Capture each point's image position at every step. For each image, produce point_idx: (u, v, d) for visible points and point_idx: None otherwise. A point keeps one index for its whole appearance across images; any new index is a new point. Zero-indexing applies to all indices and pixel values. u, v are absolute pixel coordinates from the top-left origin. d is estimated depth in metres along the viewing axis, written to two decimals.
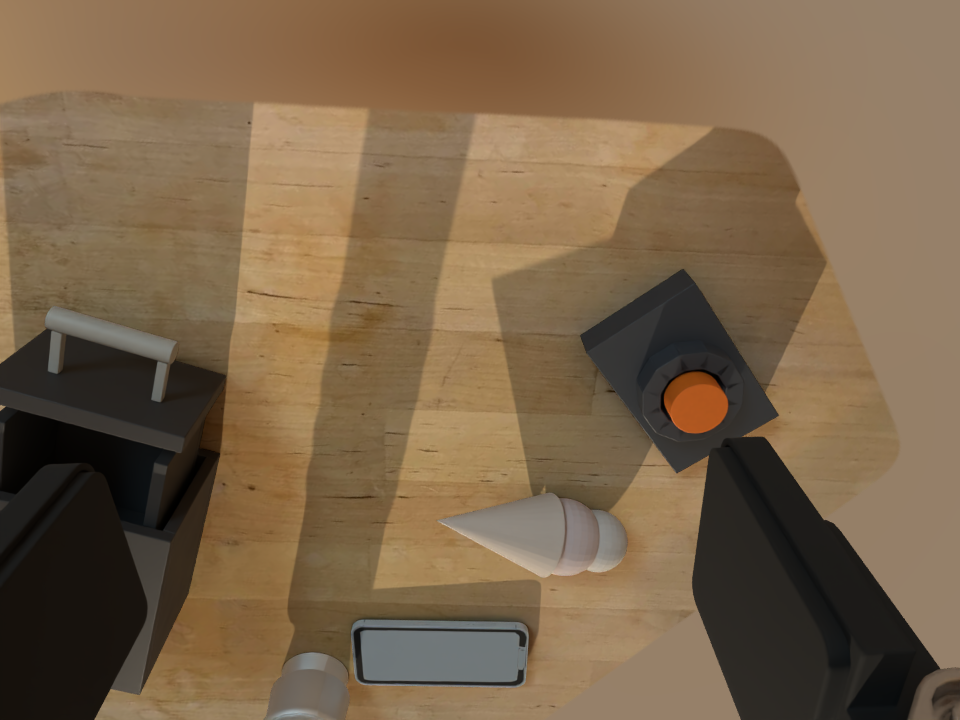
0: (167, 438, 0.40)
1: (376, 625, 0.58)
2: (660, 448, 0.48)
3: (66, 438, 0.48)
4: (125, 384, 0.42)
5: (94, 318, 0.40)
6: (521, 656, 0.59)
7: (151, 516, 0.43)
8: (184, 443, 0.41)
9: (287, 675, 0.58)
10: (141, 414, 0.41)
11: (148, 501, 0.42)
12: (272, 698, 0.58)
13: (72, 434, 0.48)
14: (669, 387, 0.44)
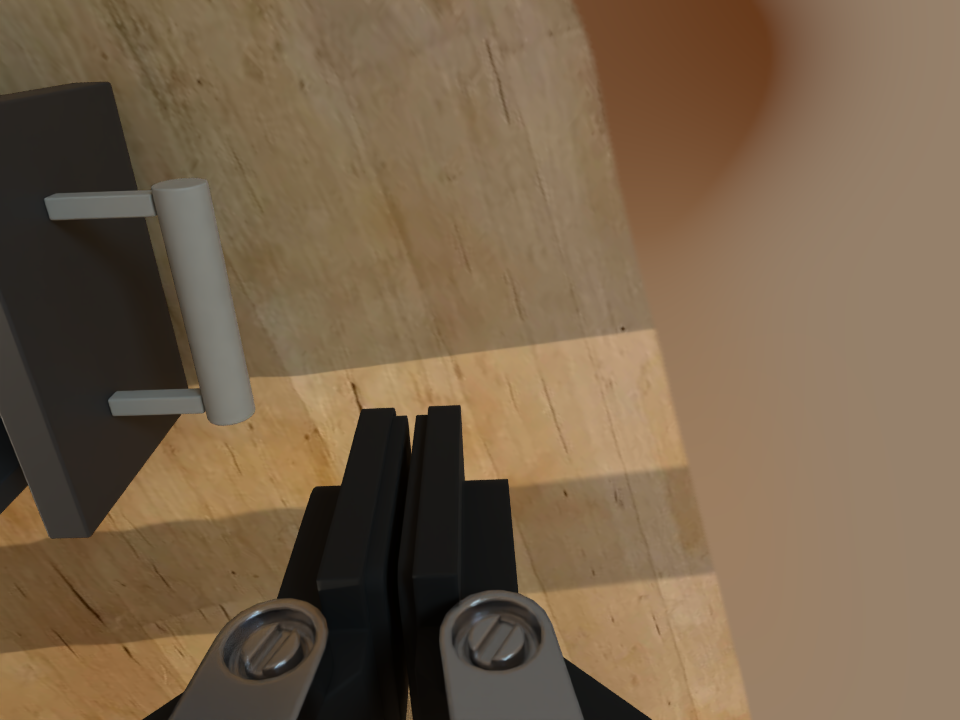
0: (67, 512, 0.19)
1: None
2: None
3: None
4: (102, 330, 0.20)
5: (224, 266, 0.19)
6: None
7: None
8: None
9: None
10: (80, 432, 0.19)
11: None
12: None
13: None
14: None
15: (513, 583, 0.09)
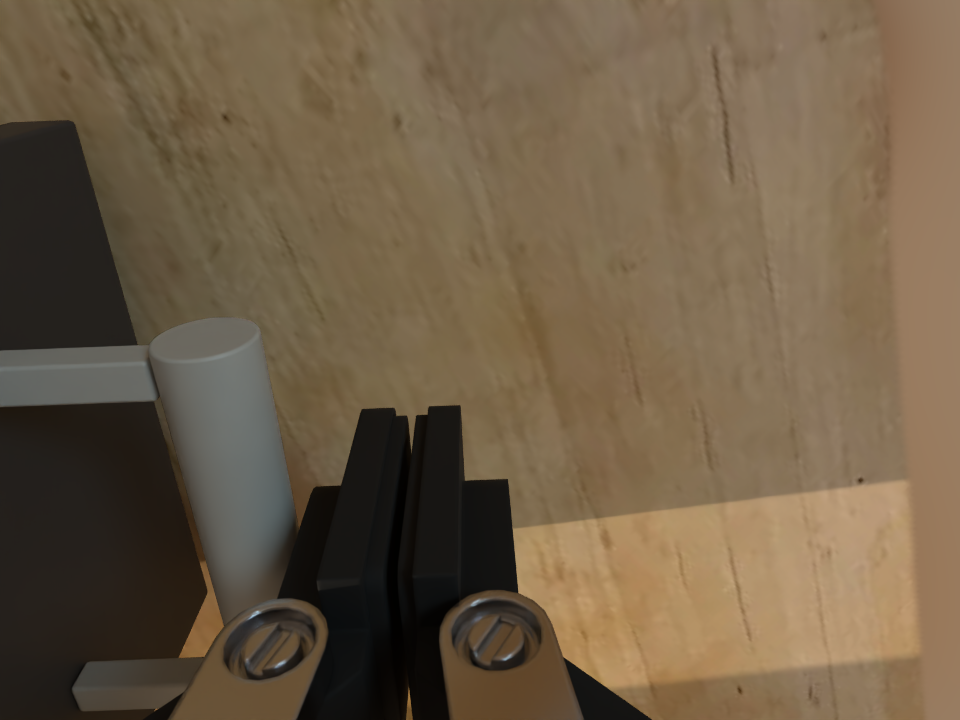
0: None
1: None
2: None
3: None
4: (59, 567, 0.11)
5: (286, 476, 0.10)
6: None
7: None
8: None
9: None
10: None
11: None
12: None
13: None
14: None
15: (513, 583, 0.09)
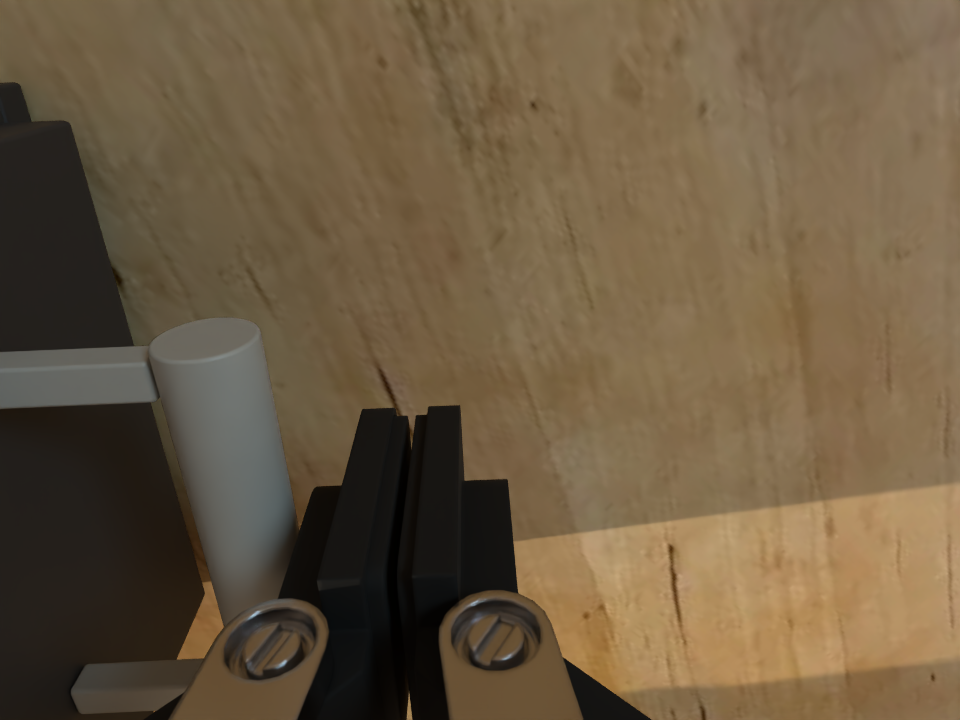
0: None
1: None
2: None
3: None
4: (58, 569, 0.11)
5: (286, 476, 0.10)
6: None
7: None
8: None
9: None
10: None
11: None
12: None
13: None
14: None
15: (512, 583, 0.09)
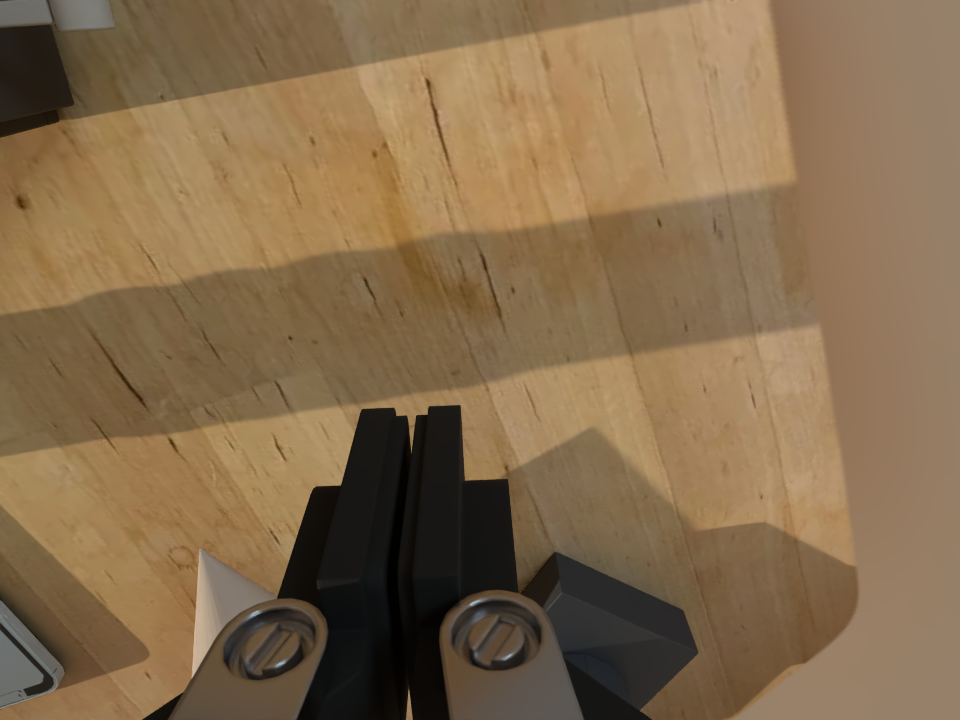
0: None
1: None
2: None
3: None
4: None
5: None
6: (5, 698, 0.36)
7: None
8: None
9: None
10: None
11: None
12: None
13: None
14: None
15: (513, 583, 0.09)
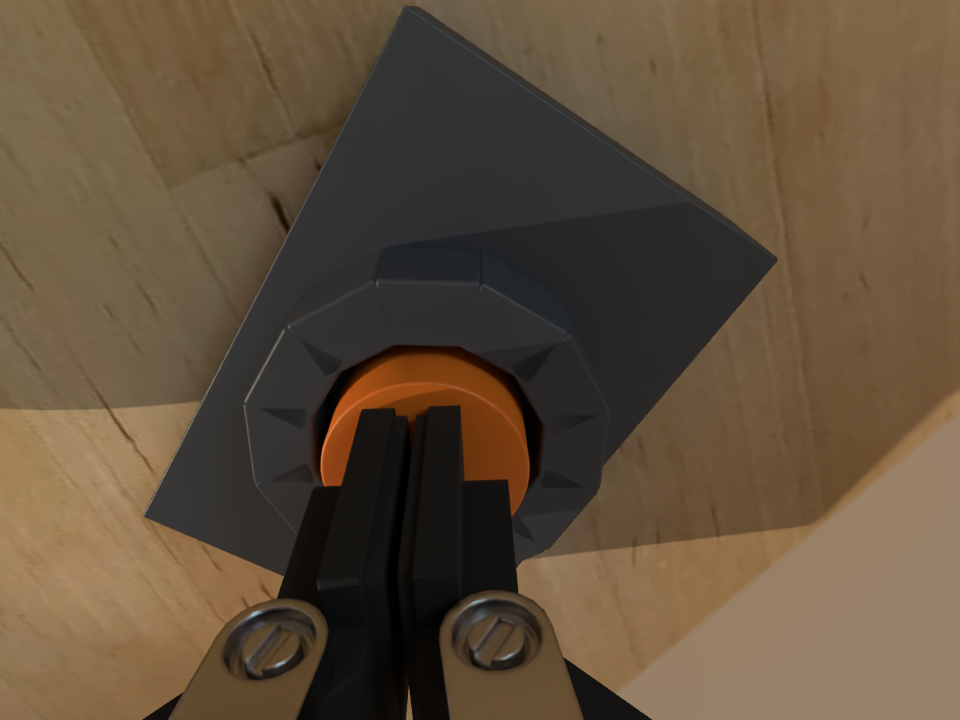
0: None
1: None
2: (191, 437, 0.14)
3: None
4: None
5: None
6: None
7: None
8: None
9: None
10: None
11: None
12: None
13: None
14: None
15: (513, 583, 0.09)
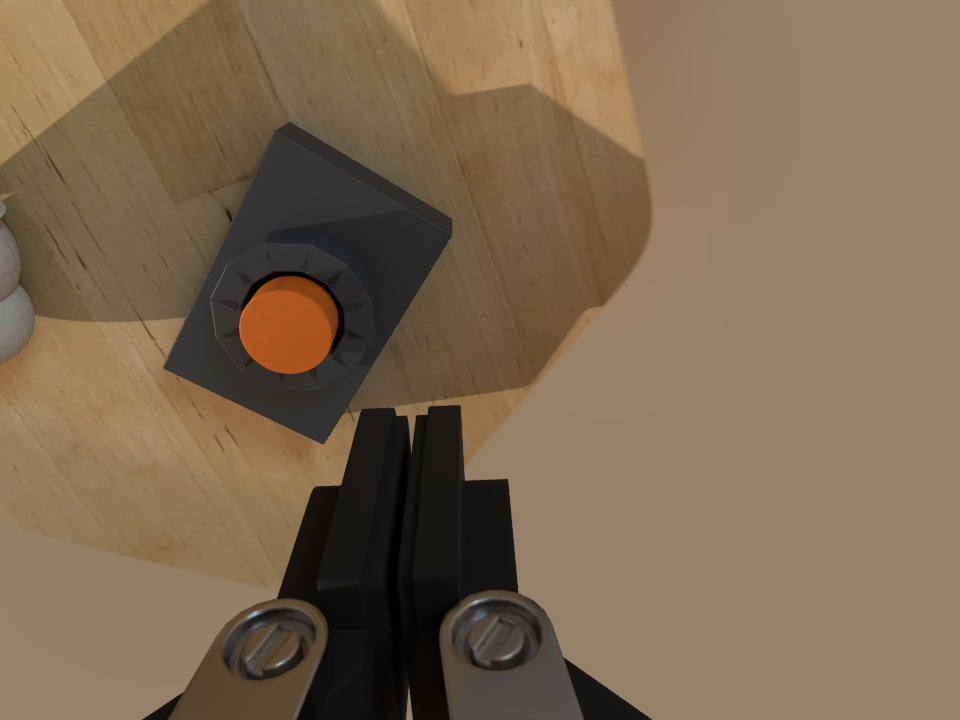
0: None
1: None
2: (187, 324, 0.30)
3: None
4: None
5: None
6: None
7: None
8: None
9: None
10: None
11: None
12: None
13: None
14: (290, 277, 0.28)
15: (513, 583, 0.09)
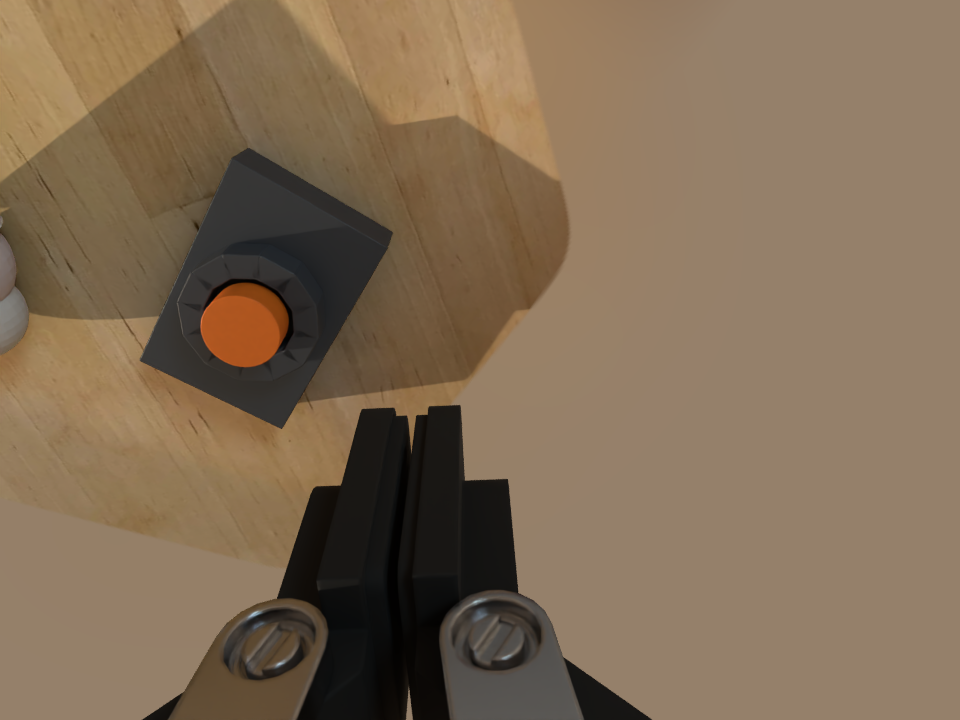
0: None
1: None
2: (159, 323, 0.35)
3: None
4: None
5: None
6: None
7: None
8: None
9: None
10: None
11: None
12: None
13: None
14: (245, 284, 0.32)
15: (513, 583, 0.09)
